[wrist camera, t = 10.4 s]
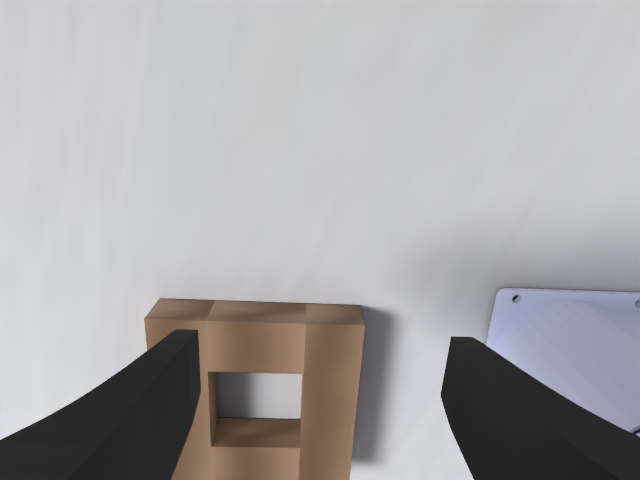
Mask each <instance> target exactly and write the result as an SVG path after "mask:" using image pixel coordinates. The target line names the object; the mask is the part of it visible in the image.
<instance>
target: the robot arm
mask: <svg viewBox="0 0 640 480" xmlns="http://www.w3.org/2000/svg"><path fill="white" fill-rule="evenodd" d="M515 295H518V297H517V298H516V299H515V300H512V298H513V297H514V296H515ZM637 300H639V301H638V302H637V303H636V304H635V302H636V301H637ZM200 393H201V380H200V359H199V339H198V330H188V329H176V330H174V331H173V332H171V333H170V334H169V335H167V336H166V337H165V338H163V339H162V340H161V341H159V342H158V343H157V344H156V345H154V346H153V347H152V348H150V349H149V350H148V351H147V352H145V353H144V354H143V355H141V356H140V357H139V358H137V359H136V360H135V361H133V362H132V363H131V364H129V365H128V366H127V367H125V368H124V369H122V370H121V371H120V372H118V373H117V374H115V375H114V376H112V377H111V378H109V379H108V380H106V381H105V382H103V383H102V384H101V385H99V386H98V387H96V388H95V389H93V390H92V391H90V392H89V393H87V394H85V395H84V396H82V397H81V398H79V399H77V400H76V401H74V402H72V403H71V404H69V405H67V406H65V407H64V408H62V409H60V410H58V411H56V412H55V413H53V414H51V415H49V416H48V417H46V418H44V419H42V420H40V421H38V422H36V423H34V424H32V425H30V426H28V427H26V428H24V429H22V430H20V431H18V432H16V433H14V434H12V435H10V436H8V437H6V438H4V439H2V440H0V480H171V478H172V475H173V473H174V470H175V468H176V465H177V463H178V460H179V458H180V455H181V453H182V450H183V448H184V445H185V443H186V440H187V437H188V435H189V432H190V430H191V427H192V424H193V420H194V417H195V413H196V409H197V405H198V401H199V397H200ZM441 398H442V402H443V405H444V409H445V412H446V415H447V418H448V421H449V424H450V427H451V430H452V432H453V435H454V437H455V439H456V441H457V443H458V446H459V448H460V450H461V452H462V454H463V457H464V459H465V461H466V463H467V465H468V467H469V470H470V472H471V474H472V476H473V478H474V480H640V293H637V292H609V291H582V290H554V289H526V288H503V289H501V290H499V292H498V293H497V295H496V299H495V303H494V308H493V313H492V317H491V322H490V327H489V332H488V336H487V341H486V345H485V344H483V343H481V342H480V341H478V340H476V339H475V338H473V337H451V341H450V347H449V352H448V358H447V363H446V369H445V374H444V380H443V385H442V391H441Z"/></svg>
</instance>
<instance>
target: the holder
mask: <svg viewBox="0 0 640 480" xmlns="http://www.w3.org/2000/svg"><path fill="white" fill-rule="evenodd" d="M144 321H145V331H146V342H147V351H148V350H149V349H150V348H152V347H153V346H154V345H156V344H157V343H158V342H159V341H161V340H162V339H163V338H165V337H166V336H167V335H169V334H170V333H171V332H173V331H174V330H176V329H188V330H198V339H199V359H200V380H201V393H200V397H199V401H198V405H197V409H196V413H195V417H194V420H193V424H192V427H191V430H190V432H189V435H188V437H187V440H186V443H185V445H184V448H183V450H182V453H181V455H180V458H179V460H178V463H177V465H176V468H175V470H174V473H173V475H172V478H171V480H349V479H350V469H351V459H352V450H353V440H354V430H355V420H356V410H357V401H358V391H359V381H360V371H361V361H362V352H363V342H364V332H365V323H364V320H363V316H362V312H361V308H360V305H338V304H308V303H278V302H248V301H218V300H188V299H159V300H158V301H157V303H156V304H155V305H154V307H153V308H152V309H151V311H150V312H149V313H148V315H147V316H146V317H145V319H144ZM217 372H245V373H286V374H303V378H302V398H301V419H257V418H219V406H218V375H217Z"/></svg>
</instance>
